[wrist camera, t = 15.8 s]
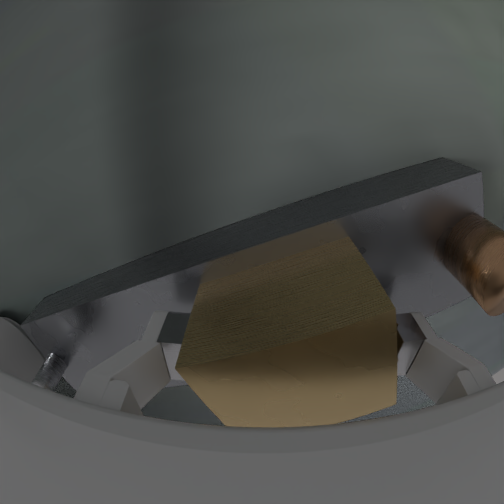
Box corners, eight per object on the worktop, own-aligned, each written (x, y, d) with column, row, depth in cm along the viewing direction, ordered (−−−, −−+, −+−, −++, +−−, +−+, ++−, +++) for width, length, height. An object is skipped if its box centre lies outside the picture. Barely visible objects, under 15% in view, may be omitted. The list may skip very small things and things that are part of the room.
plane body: (93, 363, 17) (56, 442, 11) (44, 297, 15) (-17, 374, 8) (455, 260, 13) (532, 345, 6) (448, 155, 11) (566, 207, 4)
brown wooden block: (245, 363, 12) (241, 441, 8) (199, 284, 10) (174, 368, 7) (366, 329, 11) (396, 404, 8) (348, 236, 9) (395, 308, 6)
